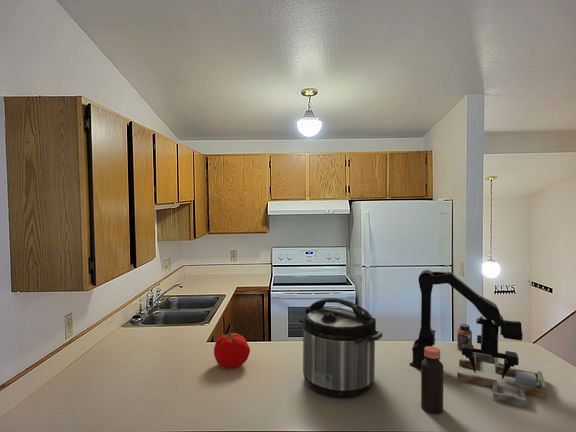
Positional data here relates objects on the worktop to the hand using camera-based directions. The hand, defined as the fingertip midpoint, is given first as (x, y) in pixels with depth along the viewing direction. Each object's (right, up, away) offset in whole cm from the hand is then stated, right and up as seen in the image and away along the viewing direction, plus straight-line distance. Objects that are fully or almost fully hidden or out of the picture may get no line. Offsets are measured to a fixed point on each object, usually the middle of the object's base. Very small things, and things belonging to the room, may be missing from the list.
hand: (488, 375), depth 137 cm
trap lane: (+3, -1, -2) cm, 4 cm away
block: (+11, -1, -6) cm, 12 cm away
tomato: (-101, -2, +13) cm, 101 cm away
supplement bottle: (+4, 0, +26) cm, 26 cm away
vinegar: (-30, -2, -19) cm, 36 cm away
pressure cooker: (-58, -2, 0) cm, 58 cm away
